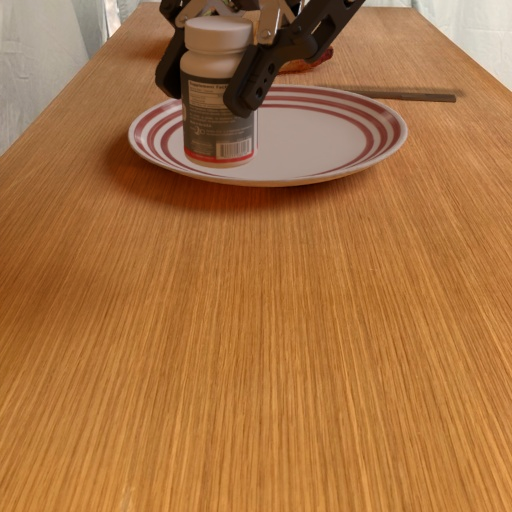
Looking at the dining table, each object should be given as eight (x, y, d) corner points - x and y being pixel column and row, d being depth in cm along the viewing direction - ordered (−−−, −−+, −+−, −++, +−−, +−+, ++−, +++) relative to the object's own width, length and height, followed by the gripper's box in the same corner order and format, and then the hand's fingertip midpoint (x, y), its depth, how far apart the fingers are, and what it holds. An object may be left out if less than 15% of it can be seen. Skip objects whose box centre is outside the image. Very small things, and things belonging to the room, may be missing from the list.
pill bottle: (199, 138, 47) (195, 10, 43) (266, 147, 46) (268, 16, 42) (172, 165, 43) (164, 27, 39) (244, 174, 42) (244, 33, 38)
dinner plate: (92, 202, 60) (87, 167, 58) (165, 103, 83) (163, 75, 82) (414, 222, 57) (419, 185, 56) (396, 113, 81) (399, 85, 79)
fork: (319, 96, 86) (320, 92, 86) (320, 92, 88) (320, 88, 87) (456, 102, 85) (456, 98, 84) (454, 97, 86) (454, 93, 86)
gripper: (206, -185, 44) (79, 45, 42) (412, -188, 36) (269, 92, 34) (257, -95, 50) (148, 108, 48) (440, -82, 43) (322, 159, 41)
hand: (199, 100), depth 41 cm, fingers closed on pill bottle, 4 cm apart
